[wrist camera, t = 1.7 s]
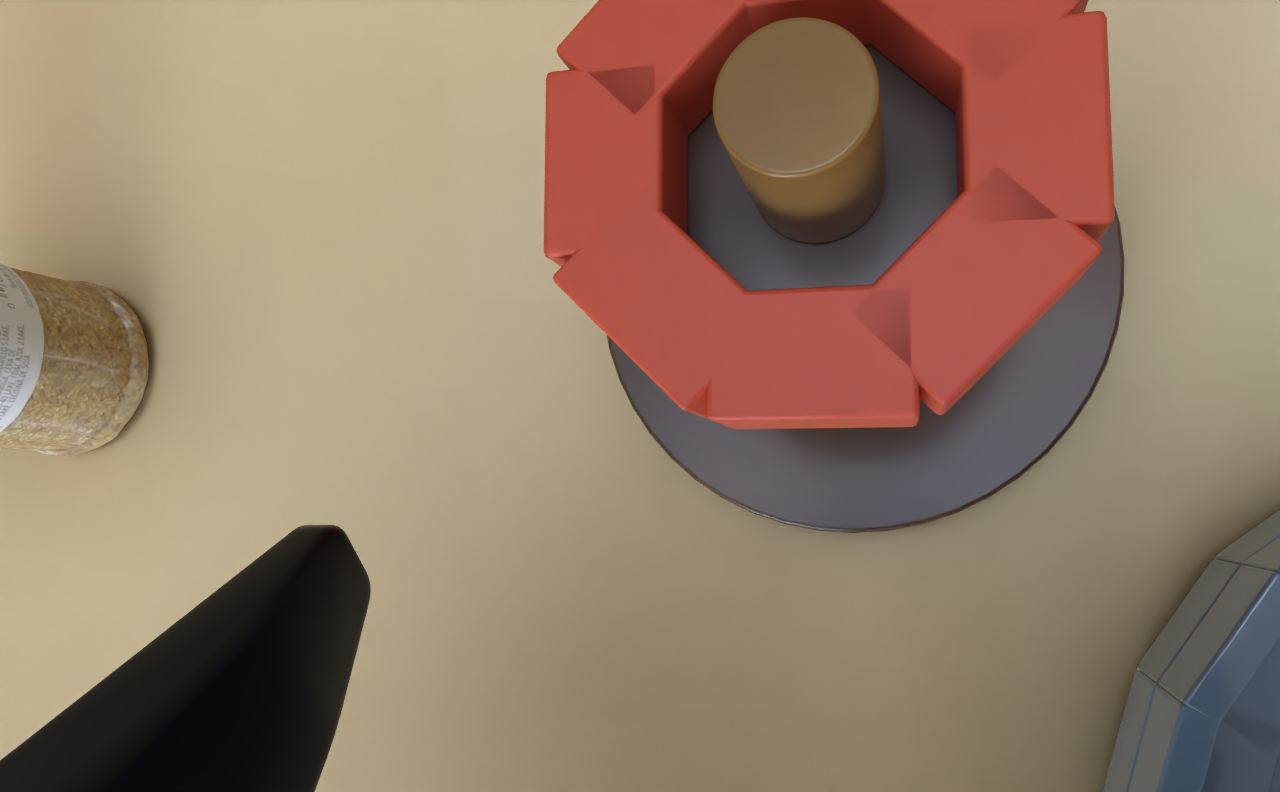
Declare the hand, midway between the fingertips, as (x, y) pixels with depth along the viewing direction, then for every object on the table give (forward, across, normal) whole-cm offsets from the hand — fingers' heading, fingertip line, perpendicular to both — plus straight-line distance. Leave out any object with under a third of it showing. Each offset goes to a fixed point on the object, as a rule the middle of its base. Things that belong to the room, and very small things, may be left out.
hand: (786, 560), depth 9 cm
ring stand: (+12, 0, +5) cm, 13 cm away
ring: (+6, 0, 0) cm, 6 cm away
